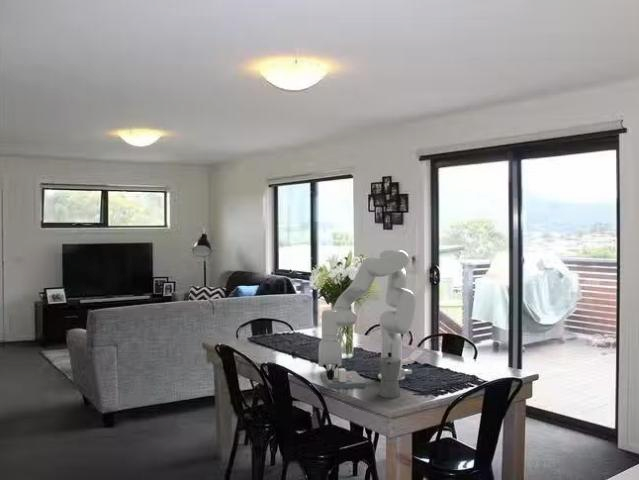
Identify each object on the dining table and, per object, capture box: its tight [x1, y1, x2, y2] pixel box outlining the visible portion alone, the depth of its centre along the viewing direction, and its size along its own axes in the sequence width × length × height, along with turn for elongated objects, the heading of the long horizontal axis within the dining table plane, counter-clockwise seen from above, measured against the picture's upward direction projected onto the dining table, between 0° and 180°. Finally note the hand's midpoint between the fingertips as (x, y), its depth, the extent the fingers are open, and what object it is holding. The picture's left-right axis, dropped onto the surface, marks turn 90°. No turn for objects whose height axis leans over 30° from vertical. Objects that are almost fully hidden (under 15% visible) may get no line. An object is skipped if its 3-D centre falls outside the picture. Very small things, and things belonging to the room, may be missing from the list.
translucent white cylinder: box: [402, 349, 424, 367], centre depth 313 cm, size 6×6×25 cm
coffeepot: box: [378, 352, 402, 399], centre depth 257 cm, size 15×9×18 cm, turn 171°
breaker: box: [330, 365, 338, 378], centre depth 277 cm, size 3×4×5 cm
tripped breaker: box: [338, 367, 347, 382], centre depth 271 cm, size 3×4×5 cm
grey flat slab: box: [319, 370, 367, 390], centre depth 278 cm, size 17×22×2 cm
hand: (330, 379), depth 270 cm, fingers closed
